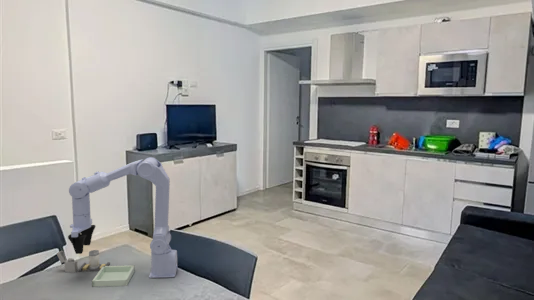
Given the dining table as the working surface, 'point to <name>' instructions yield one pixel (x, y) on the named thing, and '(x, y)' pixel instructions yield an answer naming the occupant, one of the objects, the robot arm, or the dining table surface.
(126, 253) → the dining table surface
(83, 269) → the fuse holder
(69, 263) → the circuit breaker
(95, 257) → the fuse
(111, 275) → the tray
